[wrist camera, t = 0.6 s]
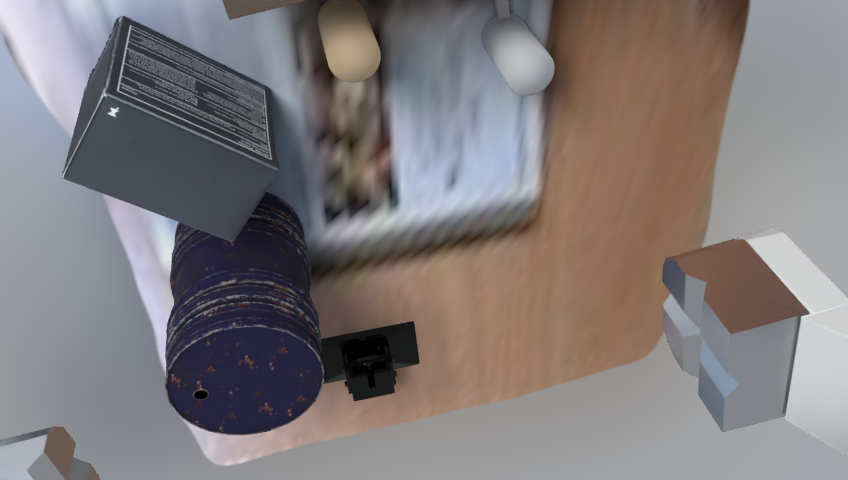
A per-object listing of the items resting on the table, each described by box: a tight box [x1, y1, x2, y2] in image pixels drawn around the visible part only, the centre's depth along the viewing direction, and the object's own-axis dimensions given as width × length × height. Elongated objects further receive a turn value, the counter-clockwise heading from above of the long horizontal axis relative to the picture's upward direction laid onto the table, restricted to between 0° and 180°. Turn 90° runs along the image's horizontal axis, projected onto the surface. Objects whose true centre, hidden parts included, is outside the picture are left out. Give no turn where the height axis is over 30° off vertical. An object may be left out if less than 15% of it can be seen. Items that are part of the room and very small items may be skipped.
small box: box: [62, 16, 279, 241], centre depth 49 cm, size 11×6×10 cm, turn 55°
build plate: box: [321, 321, 419, 401], centre depth 70 cm, size 12×7×5 cm, turn 94°
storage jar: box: [165, 192, 324, 435], centre depth 56 cm, size 10×10×15 cm
